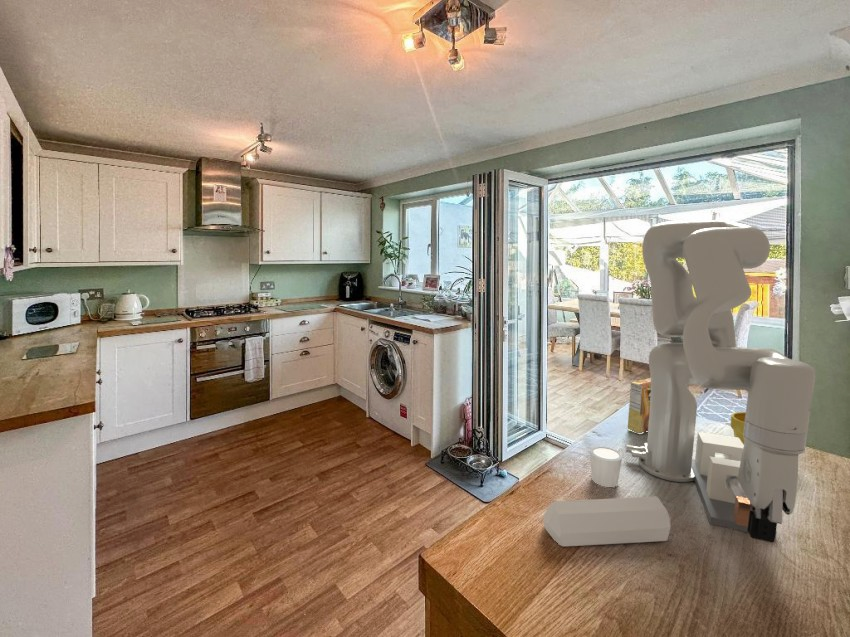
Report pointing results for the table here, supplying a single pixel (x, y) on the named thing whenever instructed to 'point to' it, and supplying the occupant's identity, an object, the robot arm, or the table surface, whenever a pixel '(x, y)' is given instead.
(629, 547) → the table surface
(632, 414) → the candy box
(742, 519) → the shaft
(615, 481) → the shot glass
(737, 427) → the plant pot
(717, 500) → the bearing base
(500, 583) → the table surface
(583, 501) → the crystal
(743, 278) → the robot arm
